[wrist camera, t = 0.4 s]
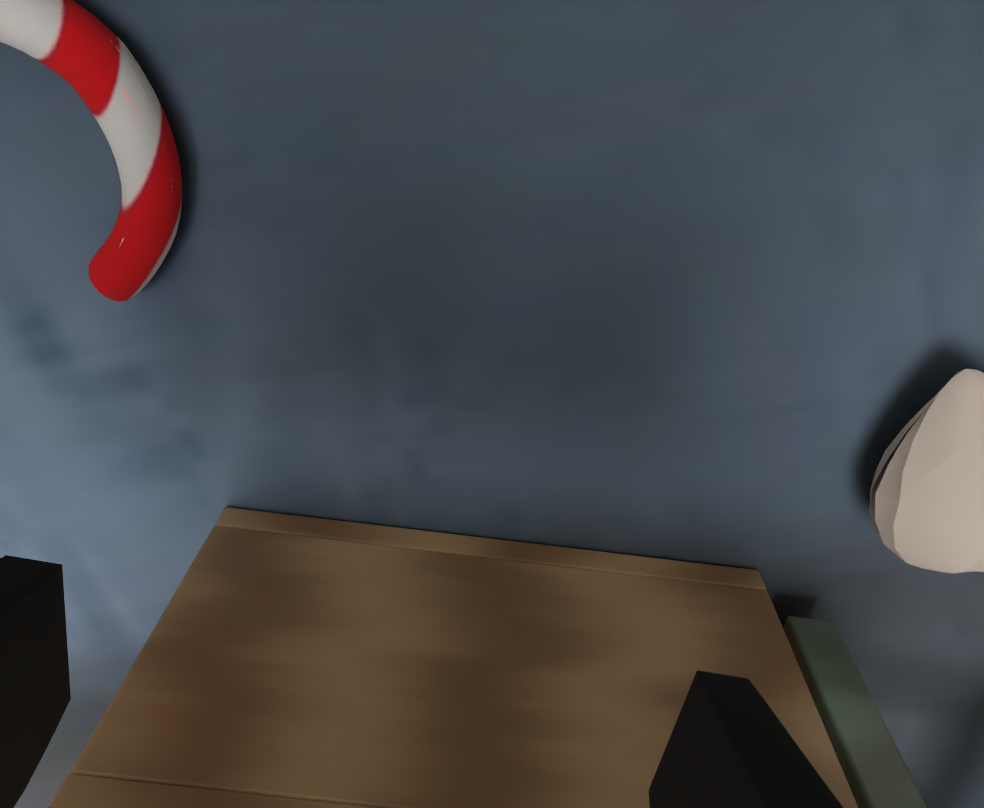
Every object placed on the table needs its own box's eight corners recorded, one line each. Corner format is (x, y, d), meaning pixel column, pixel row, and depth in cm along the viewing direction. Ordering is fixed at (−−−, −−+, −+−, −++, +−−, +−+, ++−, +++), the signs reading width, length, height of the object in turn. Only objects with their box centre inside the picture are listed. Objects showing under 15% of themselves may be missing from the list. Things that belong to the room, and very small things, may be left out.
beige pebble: (858, 545, 20) (901, 614, 18) (837, 369, 18) (882, 422, 16) (1042, 507, 19) (1110, 573, 17) (1041, 319, 17) (1120, 367, 15)
